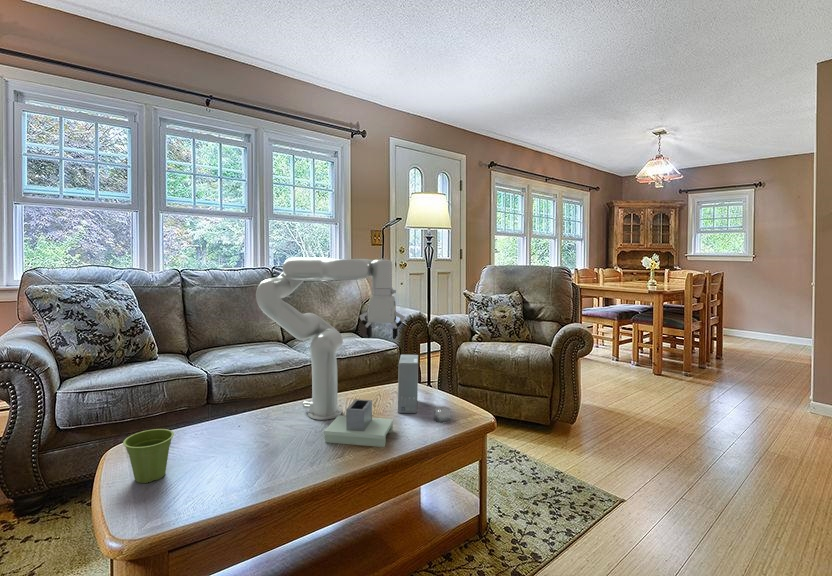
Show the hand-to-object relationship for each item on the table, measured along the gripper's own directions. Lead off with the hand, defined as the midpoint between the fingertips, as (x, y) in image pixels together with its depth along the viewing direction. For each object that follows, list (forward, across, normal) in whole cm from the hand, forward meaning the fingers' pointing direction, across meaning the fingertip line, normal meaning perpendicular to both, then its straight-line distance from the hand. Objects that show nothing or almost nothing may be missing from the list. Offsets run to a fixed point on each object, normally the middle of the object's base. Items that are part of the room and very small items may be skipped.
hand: (382, 337), depth 162 cm
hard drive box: (+31, -8, -12) cm, 34 cm away
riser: (+30, +3, +19) cm, 36 cm away
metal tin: (+31, -23, -1) cm, 38 cm away
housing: (+26, +3, +19) cm, 33 cm away
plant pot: (+31, +52, +55) cm, 82 cm away
